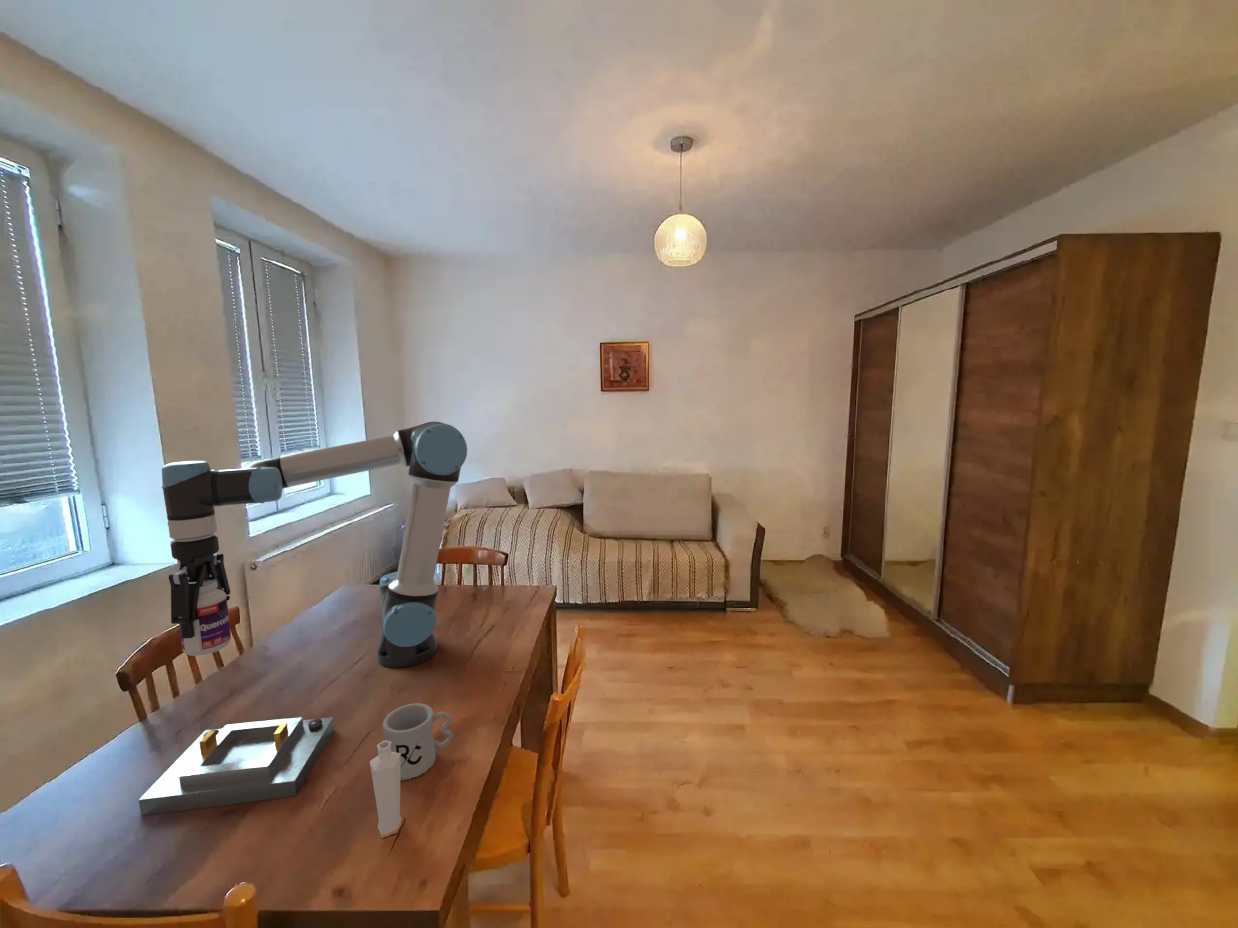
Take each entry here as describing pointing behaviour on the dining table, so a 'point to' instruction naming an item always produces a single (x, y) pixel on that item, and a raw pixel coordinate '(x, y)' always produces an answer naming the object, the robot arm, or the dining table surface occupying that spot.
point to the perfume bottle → (387, 786)
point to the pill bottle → (211, 619)
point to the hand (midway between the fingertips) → (207, 640)
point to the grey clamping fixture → (240, 765)
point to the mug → (414, 737)
